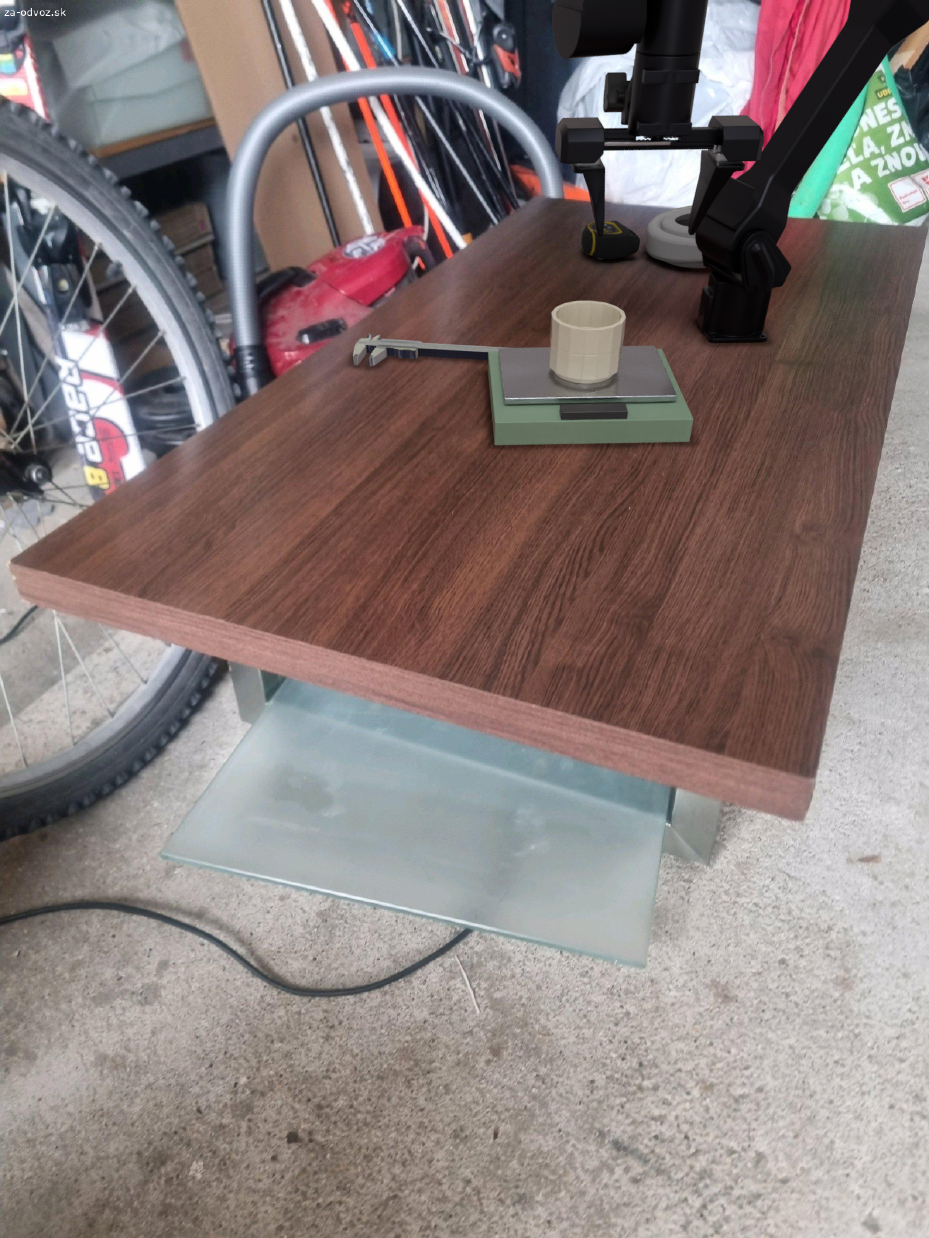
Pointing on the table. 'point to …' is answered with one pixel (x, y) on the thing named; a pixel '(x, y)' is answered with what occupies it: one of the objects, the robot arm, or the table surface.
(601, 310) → the cup
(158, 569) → the table surface
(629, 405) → the scale
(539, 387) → the scale pan
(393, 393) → the table surface
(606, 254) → the tape measure
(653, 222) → the grey donut ring
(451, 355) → the caliper
